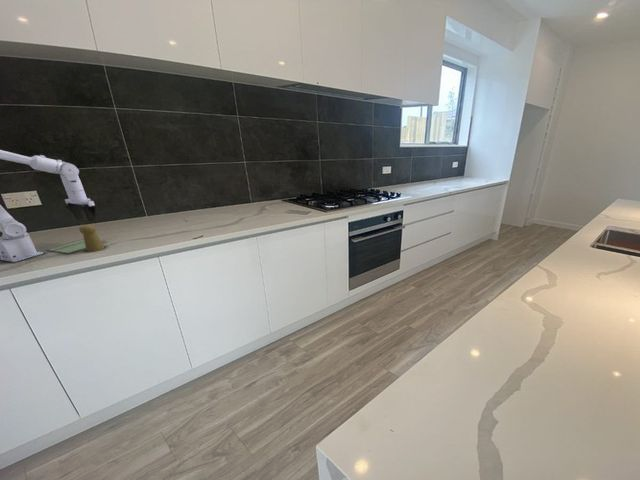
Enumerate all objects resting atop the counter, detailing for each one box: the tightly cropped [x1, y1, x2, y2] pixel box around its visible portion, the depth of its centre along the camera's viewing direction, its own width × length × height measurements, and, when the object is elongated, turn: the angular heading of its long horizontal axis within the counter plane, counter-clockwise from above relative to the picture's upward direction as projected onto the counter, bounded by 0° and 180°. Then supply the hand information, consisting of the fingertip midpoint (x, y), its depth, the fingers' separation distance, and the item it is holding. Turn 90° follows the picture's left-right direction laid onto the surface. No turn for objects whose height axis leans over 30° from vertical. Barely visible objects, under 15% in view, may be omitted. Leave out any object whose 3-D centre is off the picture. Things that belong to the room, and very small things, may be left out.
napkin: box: [47, 238, 104, 255], centre depth 135 cm, size 14×12×1 cm
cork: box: [79, 224, 105, 252], centre depth 131 cm, size 6×6×11 cm
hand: (86, 219), depth 138 cm, fingers open, 7 cm apart
